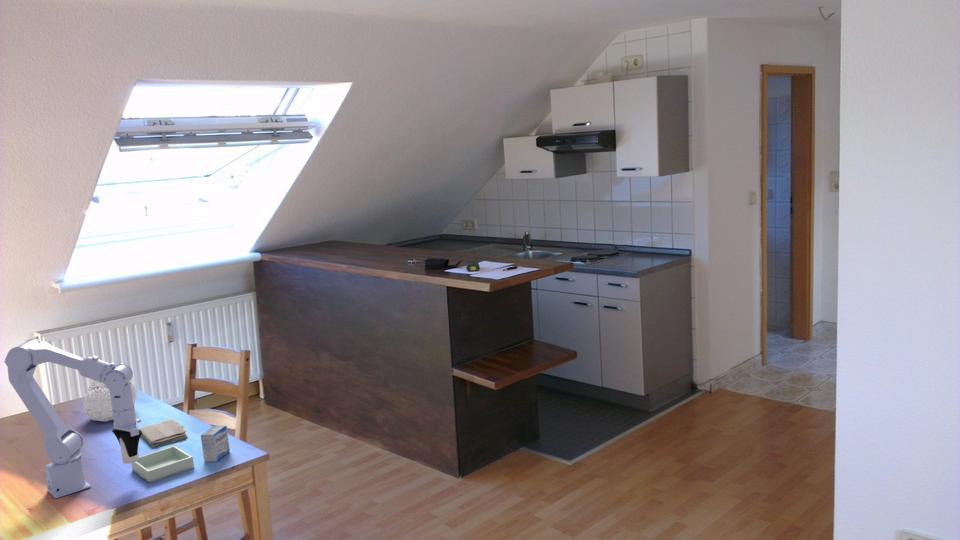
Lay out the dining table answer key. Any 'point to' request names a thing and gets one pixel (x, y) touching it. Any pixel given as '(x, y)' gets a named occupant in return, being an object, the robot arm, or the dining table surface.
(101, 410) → the cauliflower
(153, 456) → the tote
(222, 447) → the medicine box
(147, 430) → the washcloth
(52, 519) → the dining table surface
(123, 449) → the white capsule cylinder
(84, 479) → the robot arm
